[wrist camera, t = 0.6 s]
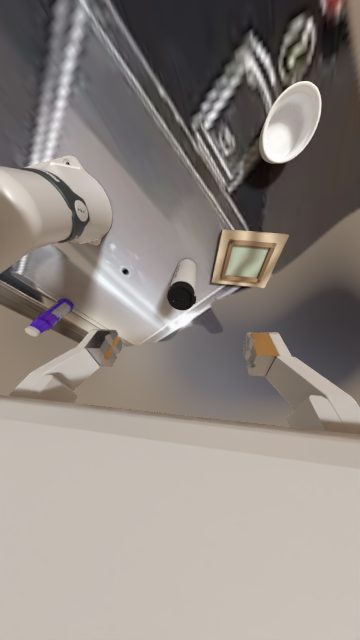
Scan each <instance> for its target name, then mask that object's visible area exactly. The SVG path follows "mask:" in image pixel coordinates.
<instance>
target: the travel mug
mask: <svg viewBox="0 0 360 640" xmlns="http://www.w3.org/2000/svg"><path fill="white" fill-rule="evenodd" d="M195 283H196V264H195V262H194V261H193V260H191V259H189V258H185V259H182V260H181V261H180V262H179V263H178V266H177V268H176V271H175V274H174V277H173V279H172V282H171V285H170V288H169V291H168V295H167V298H168V301H169V303H170V305H171V306H172V307H174V308H175V309H178V310H187V309H189V308H190V307H192V305H193V304H195V303H196V296H195ZM194 296H195V297H194Z"/></svg>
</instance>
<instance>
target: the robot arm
mask: <svg viewBox="0 0 360 640" xmlns="http://www.w3.org/2000/svg"><path fill="white" fill-rule="evenodd" d="M68 162H69V164H70V166H69V165H68ZM111 224H112V210H111V205H110V202H109V200H108V197H107V195H106V193H105V192H104V190H103V188H102V187H101V186H100V184H99V183H98V182H97V181H96V180H95V179H94V178H93V177H91V176H90V175H89V174H88V173H87V172H86V171H85V170H84V168H83V167H82V165H81V164H80V163H79V161H78V160H77V159H76V158H75V157H74V156H65V157H61V158H58V159H54V160H50V161H47V162H43V163H39V164H36V165H32V166H28V167H25V168H21V169H14V168H8V167H2V166H0V274H1V273H2V272H3V271H4V270H6V269H7V268H8V267H10V266H11V265H12V264H14V263H15V262H16V261H18V260H19V259H21V258H22V257H23V256H25V255H26V254H28V253H30V252H31V251H33V250H35V249H38V248H40V247H43V246H46V245H49V244H53V243H56V242H59V243H62V242H69V241H70V242H71V243H76V242H78V243H79V244H83V243H88V244H92V245H95V246H96V245H99V244H100V242H101V239H102V237H103V236H104V235H105V234H106V233H107V232H108V231H109V229H110V227H111ZM117 335H118V333H117V332H116V330H105V329H93V330H91V331H90V332H89V333H88V334H87V335H86V337H85V338H84V339H83V340H82V341H81V342H80V344H79V345H78V346H77V347H76V348H73V349H71V350H69V351H67V352H66V353H64V354H62V355H61V356H59V357H57V358H55V359H54V360H52V361H50V362H49V363H47V364H45V365H43V366H42V367H40V368H38V369H36V370H35V371H33V372H31V373H30V374H29V375H28V376H27V377H26V378H25V379H24V380H23V381H22V382H21V383H20V384H19V385H18V386H17V387H16V388H15V389H14V390H13V392H11V393H10V394H9V396H4V395H0V640H360V407H359V406H358V405H357V403H356V402H355V400H354V399H353V398H352V397H351V396H350V395H348V394H347V393H345V392H344V391H342V390H341V389H339V388H338V387H337V386H335V385H334V384H332V383H331V382H330V381H328V380H327V379H325V378H324V377H323V376H321V375H319V374H318V373H317V372H315V371H314V370H312V369H311V368H310V367H308V366H307V365H305V364H304V363H303V362H301V361H300V360H298V359H297V358H296V357H292V356H291V354H290V353H289V351H288V349H287V347H286V345H285V344H284V342H283V340H282V338H281V337H280V335H279V334H278V333H276V332H275V333H274V332H271V333H270V332H267V333H266V332H248V333H247V335H246V339H247V341H245V342H244V347H243V348H244V349H243V352H244V357H245V358H246V359H247V360H248V361H247V369H248V373H249V375H254V376H266V378H267V380H269V382H270V383H271V384H272V385H273V386H274V387H275V388H276V390H278V392H279V393H280V394H281V395H282V396H283V397H284V398H285V400H286V401H287V402H288V403H289V404H290V405H291V406H292V407H293V408H294V411H293V412H292V413H291V414H290V415H289V416H288V417H287V421H288V424H289V426H290V427H284V426H276V425H267V424H258V423H249V422H239V421H231V420H221V419H212V418H203V417H194V416H184V415H176V414H167V413H158V412H149V411H140V410H131V409H121V408H112V407H103V406H95V405H86V404H77V403H74V402H75V400H76V398H77V394H75V393H74V392H73V390H74V389H75V388H76V387H77V386H79V385H80V384H81V383H82V382H83V381H84V380H86V379H87V377H89V376H90V375H91V374H92V373H94V372H95V371H96V370H97V369H98V368H99V367H100V366H112V365H113V363H114V362H115V360H116V358H117V357H116V354H118V353H119V352H120V351H121V349H122V341H121V339H120V338H119V337H117Z"/></svg>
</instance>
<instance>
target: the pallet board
mask: <svg viewBox="0 0 360 640" xmlns="http://www.w3.org/2000/svg"><path fill="white" fill-rule="evenodd" d="M288 236H289V235H287V234H277V233H265V232H252V231H240V230H228V229H222V232H221V237H220V242H219V247H218V252H217V256H216V261H215V266H214V271H213V276H212V283H220V284H230V285H240V286H250V287H260V288H264V287H265V285H266V283H267V281H268V279H269V277H270V275H271V273H272V270H273V268H274V266H275V264H276V262H277V260H278V258H279V256H280V253H281V251H282V249H283V247H284V245H285V243H286V241H287V238H288Z"/></svg>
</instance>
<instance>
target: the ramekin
mask: <svg viewBox="0 0 360 640" xmlns="http://www.w3.org/2000/svg"><path fill="white" fill-rule="evenodd" d="M320 113H321V96H320V93H319V90H318V88H317V87H316V86H315V85H314V84H313V83H311V82H308V81H302V82H298V83H295V84H293V85H292V86H290V87H289V88H287V89H286V90H285V91H284V92H283V93H282V94H281V95H280V96H279V97H278V99H277V100H276V101H275V103H274V104H273V106H272V108H271V110H270V112H269V114H268V116H267V118H266V121H265V123H264V125H263V127H262V130H261V134H260V139H259V149H260V154H261V156H262V158H263V159H264V160H265V161H266V162H268V163H272V164H275V163H284V162H287V161H289V160H291V159H293V158H294V157H296V156H297V155H298V154H299V153H300V152H301V151H302V150H303V149H304V148H305V147H306V145H307V144H308V143H309V141H310V140H311V138H312V136H313V134H314V132H315V130H316V128H317V125H318V122H319V118H320Z"/></svg>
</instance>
